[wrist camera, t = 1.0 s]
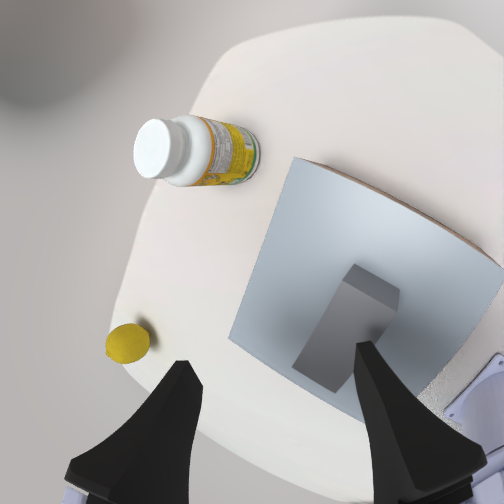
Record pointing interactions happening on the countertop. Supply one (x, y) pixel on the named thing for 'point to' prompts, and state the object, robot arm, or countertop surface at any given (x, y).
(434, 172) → the countertop surface
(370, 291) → the lid
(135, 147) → the supplement bottle
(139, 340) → the lemon
